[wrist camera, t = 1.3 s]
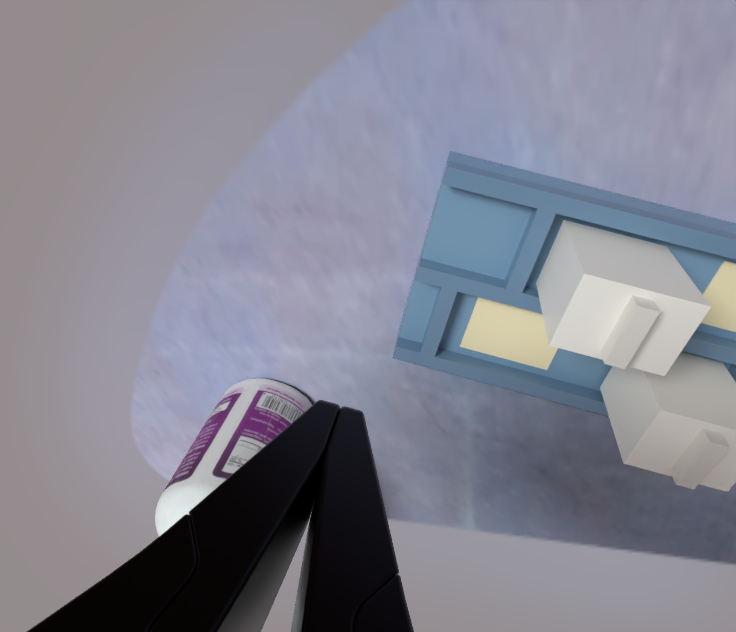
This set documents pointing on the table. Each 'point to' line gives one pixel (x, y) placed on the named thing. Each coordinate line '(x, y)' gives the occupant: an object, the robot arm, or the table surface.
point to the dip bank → (521, 271)
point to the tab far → (676, 420)
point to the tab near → (617, 299)
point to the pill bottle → (229, 442)
